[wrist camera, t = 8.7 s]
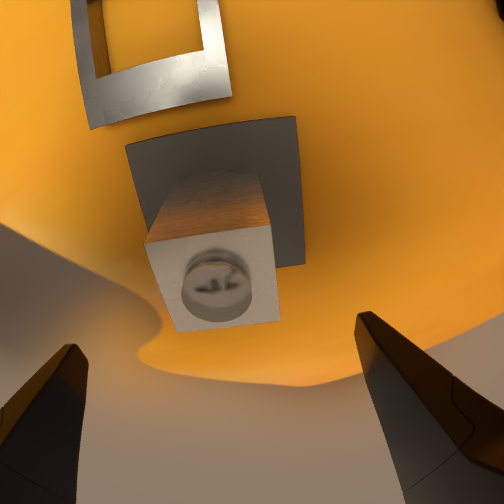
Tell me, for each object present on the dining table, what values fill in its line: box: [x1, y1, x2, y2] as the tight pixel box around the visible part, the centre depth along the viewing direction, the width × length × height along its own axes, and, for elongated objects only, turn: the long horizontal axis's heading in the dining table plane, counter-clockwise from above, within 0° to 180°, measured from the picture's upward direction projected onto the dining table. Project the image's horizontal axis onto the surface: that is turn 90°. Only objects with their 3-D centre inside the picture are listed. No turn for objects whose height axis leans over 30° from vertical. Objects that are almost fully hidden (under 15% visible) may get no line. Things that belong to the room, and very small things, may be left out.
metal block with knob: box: [143, 165, 281, 332], centre depth 13 cm, size 4×4×8 cm
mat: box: [125, 116, 305, 268], centre depth 17 cm, size 9×9×1 cm
